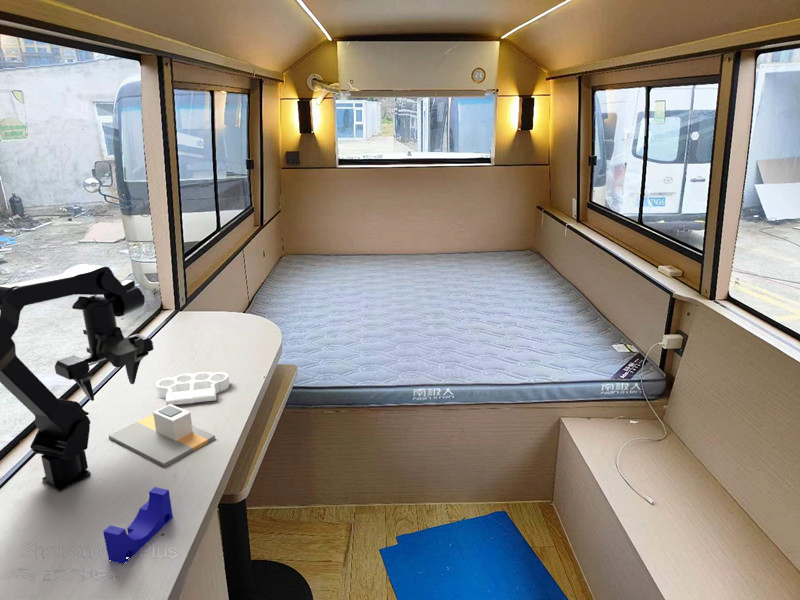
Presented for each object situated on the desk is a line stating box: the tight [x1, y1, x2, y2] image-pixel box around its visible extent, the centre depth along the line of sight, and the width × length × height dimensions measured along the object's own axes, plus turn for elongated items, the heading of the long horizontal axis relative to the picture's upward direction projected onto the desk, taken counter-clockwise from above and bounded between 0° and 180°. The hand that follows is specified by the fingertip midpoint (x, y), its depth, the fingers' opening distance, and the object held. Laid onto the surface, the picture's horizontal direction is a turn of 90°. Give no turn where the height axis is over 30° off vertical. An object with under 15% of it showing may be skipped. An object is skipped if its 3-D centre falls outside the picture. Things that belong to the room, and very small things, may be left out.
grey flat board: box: [108, 414, 216, 468], centre depth 129 cm, size 13×20×1 cm, turn 57°
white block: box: [152, 404, 193, 441], centre depth 129 cm, size 4×7×5 cm, turn 57°
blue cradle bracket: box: [102, 486, 174, 565], centre depth 98 cm, size 12×4×6 cm, turn 162°
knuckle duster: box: [155, 371, 230, 406], centre depth 150 cm, size 3×18×15 cm
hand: (112, 391), depth 124 cm, fingers open, 9 cm apart
